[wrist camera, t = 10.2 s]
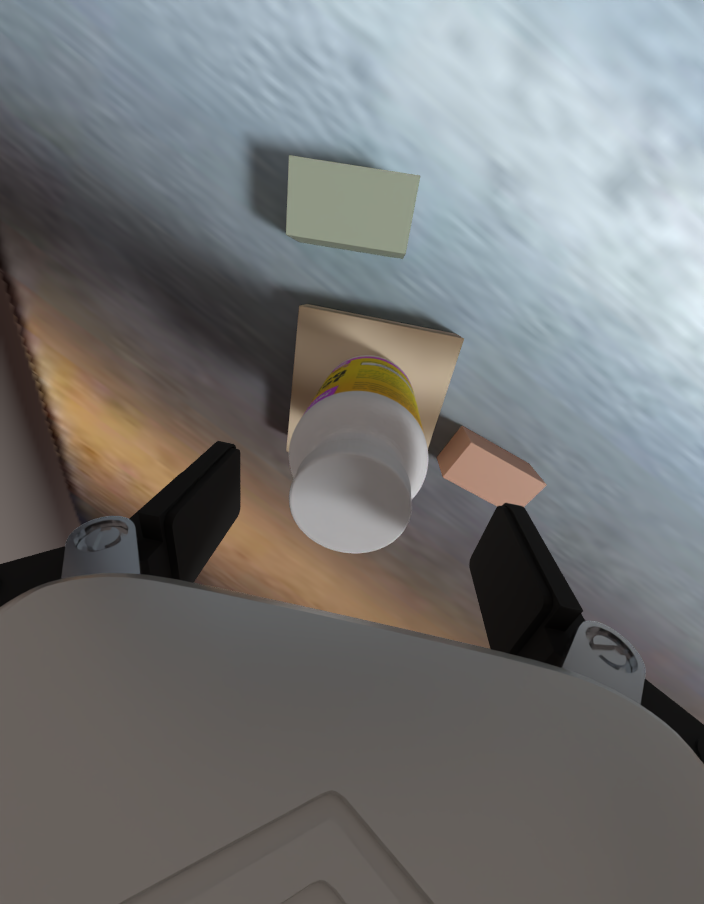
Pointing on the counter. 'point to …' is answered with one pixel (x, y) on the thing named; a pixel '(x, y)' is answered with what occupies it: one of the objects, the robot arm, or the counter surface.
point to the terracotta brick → (488, 470)
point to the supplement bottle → (358, 457)
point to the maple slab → (349, 335)
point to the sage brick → (350, 206)
